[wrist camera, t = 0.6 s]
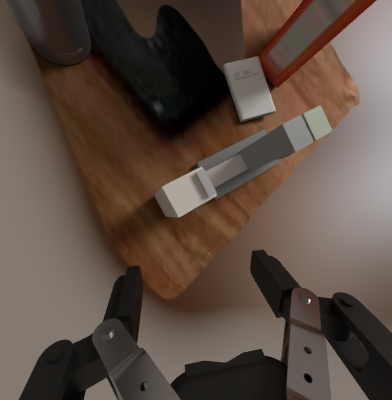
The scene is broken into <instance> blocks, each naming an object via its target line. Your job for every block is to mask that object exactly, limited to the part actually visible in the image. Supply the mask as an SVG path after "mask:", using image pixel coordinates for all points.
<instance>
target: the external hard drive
mask: <svg viewBox="0 0 392 400" xmlns="http://www.w3.org/2000/svg"><path fill="white" fill-rule="evenodd" d="M223 70H224V74H225V77H226V80H227V83H228V86H229V89H230V92H231V95H232V98H233V101H234V104H235V107H236V110H237V113H238V116H239V120H240V122H245V121H249V120H252V119H256V118H259V117H263V116H266V115H270V114H273V113H274V112H275V111H276V110H275V107H274V104H273V101H272V97H271V94H270V91H269V88H268V85H267V82H266V79H265V76H264V73H263V70H262V67H261V64H260V61H259V58H258V56H256V57H252V58H247V59H244V60H239V61H235V62H230V63H226V64H224V66H223Z"/></svg>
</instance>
